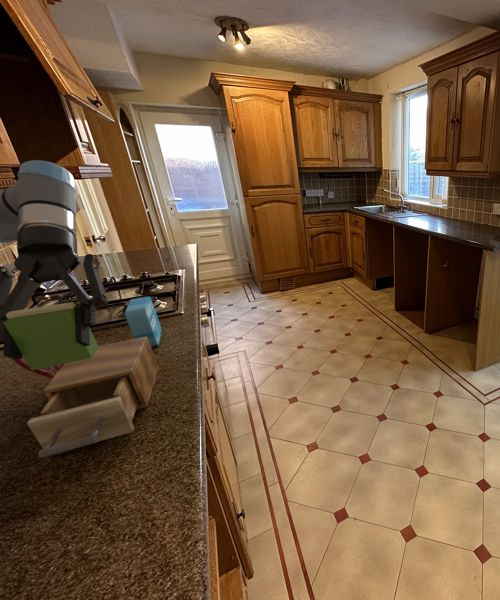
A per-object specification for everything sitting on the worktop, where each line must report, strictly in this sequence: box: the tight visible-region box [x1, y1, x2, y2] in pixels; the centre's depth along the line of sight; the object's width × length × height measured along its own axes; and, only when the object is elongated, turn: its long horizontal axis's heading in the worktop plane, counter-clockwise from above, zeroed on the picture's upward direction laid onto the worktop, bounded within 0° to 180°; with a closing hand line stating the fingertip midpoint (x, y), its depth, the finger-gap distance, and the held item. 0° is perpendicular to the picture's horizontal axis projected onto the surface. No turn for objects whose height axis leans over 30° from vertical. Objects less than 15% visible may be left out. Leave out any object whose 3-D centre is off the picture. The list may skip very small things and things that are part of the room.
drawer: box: [26, 375, 139, 460], centre depth 62 cm, size 21×12×8 cm, turn 26°
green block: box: [4, 301, 99, 370], centre depth 56 cm, size 4×8×10 cm, turn 117°
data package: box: [124, 296, 163, 348], centre depth 93 cm, size 12×4×12 cm, turn 30°
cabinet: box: [42, 337, 160, 411], centre depth 72 cm, size 16×14×10 cm
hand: (49, 350), depth 53 cm, fingers closed on green block, 8 cm apart
